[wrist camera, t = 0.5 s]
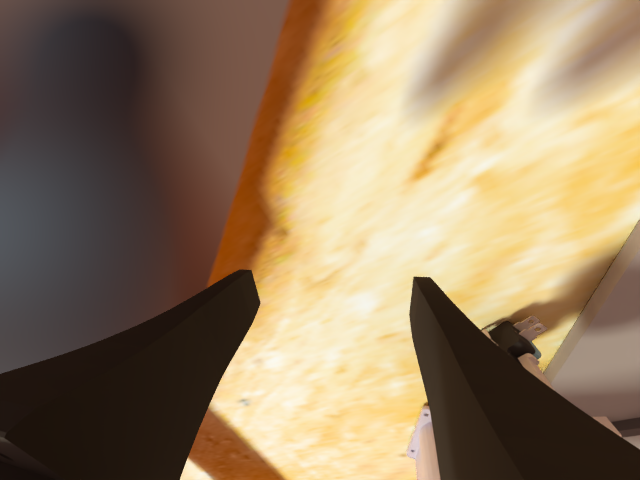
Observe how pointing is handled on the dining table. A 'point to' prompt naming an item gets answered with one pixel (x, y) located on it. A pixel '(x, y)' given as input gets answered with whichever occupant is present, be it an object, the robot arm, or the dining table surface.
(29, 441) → the robot arm
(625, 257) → the mat
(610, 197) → the dining table surface
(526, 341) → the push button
